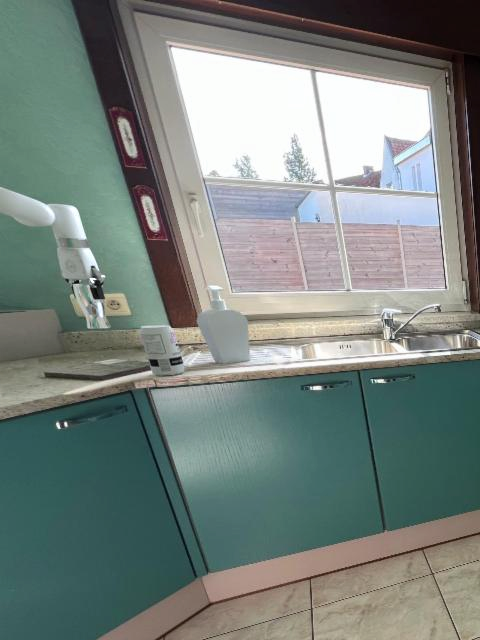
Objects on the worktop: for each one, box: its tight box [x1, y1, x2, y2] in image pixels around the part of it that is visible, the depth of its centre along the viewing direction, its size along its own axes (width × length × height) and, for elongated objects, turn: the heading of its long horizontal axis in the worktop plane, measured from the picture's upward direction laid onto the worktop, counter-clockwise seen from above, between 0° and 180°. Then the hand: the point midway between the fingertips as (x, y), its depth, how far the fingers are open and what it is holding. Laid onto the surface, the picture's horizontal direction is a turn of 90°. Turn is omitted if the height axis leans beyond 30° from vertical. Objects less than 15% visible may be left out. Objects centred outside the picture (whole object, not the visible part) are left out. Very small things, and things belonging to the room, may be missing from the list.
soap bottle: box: [196, 285, 251, 365], centre depth 173 cm, size 12×10×26 cm
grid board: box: [43, 358, 152, 381], centre depth 158 cm, size 20×20×2 cm
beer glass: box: [73, 283, 112, 330], centre depth 174 cm, size 7×7×15 cm
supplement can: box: [139, 324, 186, 376], centre depth 155 cm, size 8×8×15 cm
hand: (90, 298), depth 173 cm, fingers closed on beer glass, 7 cm apart
